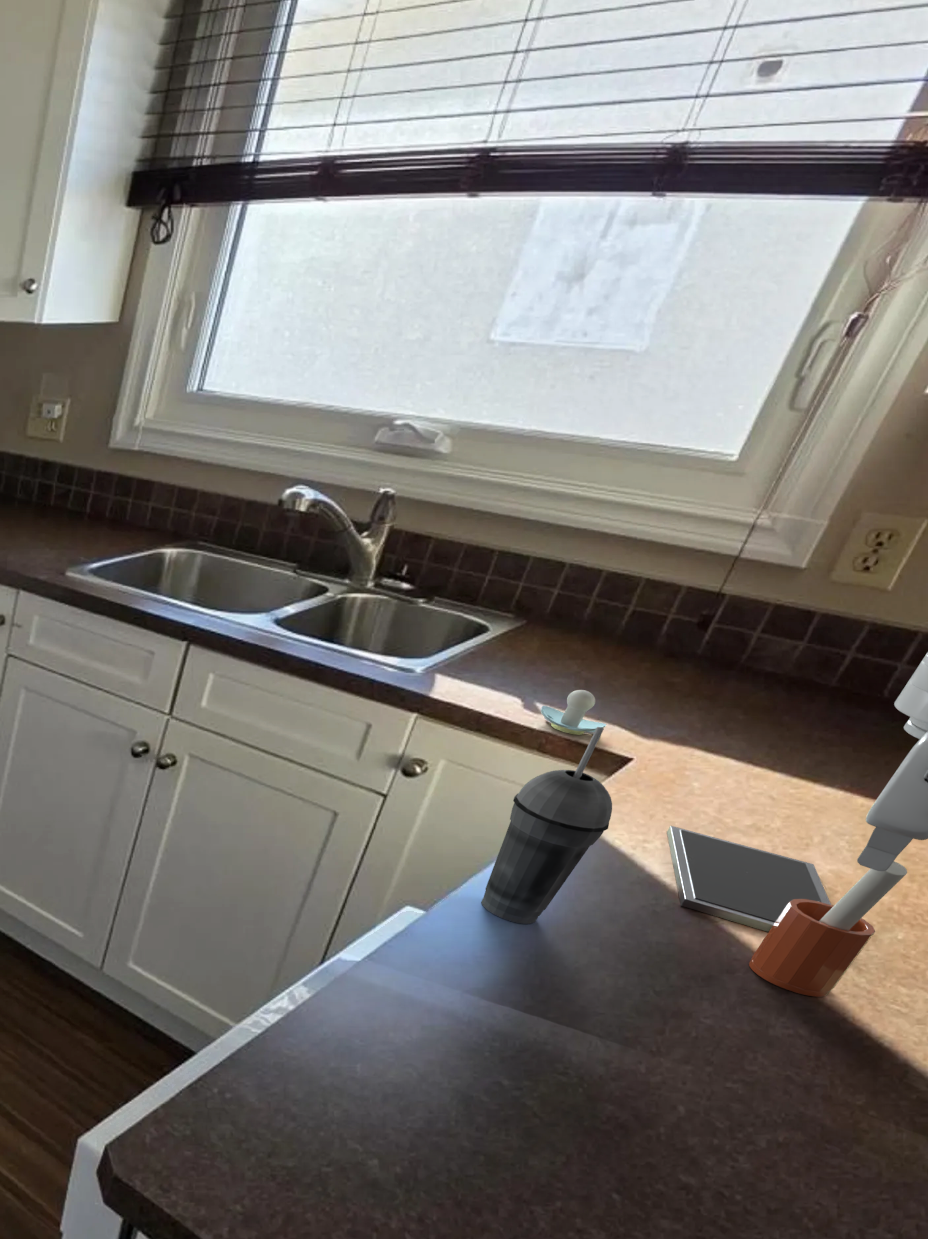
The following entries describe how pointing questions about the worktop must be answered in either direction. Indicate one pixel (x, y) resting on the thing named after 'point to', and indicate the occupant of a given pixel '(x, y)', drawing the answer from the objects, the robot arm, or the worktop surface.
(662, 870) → the worktop surface
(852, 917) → the stylus
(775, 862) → the tablet
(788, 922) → the pen pot
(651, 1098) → the worktop surface
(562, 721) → the pacifier
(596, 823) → the beverage cup
